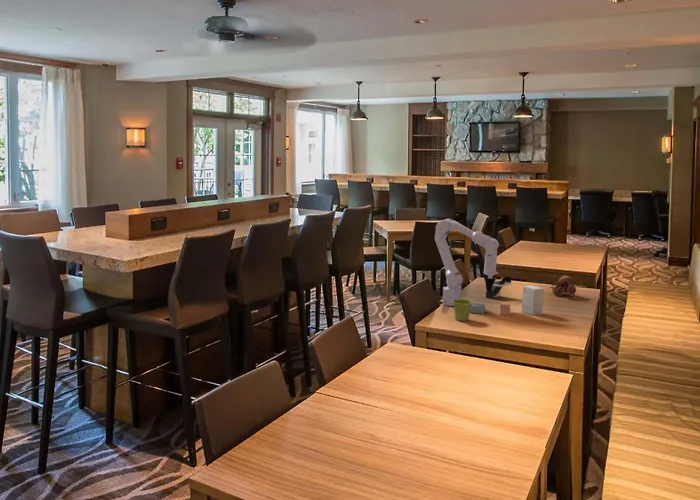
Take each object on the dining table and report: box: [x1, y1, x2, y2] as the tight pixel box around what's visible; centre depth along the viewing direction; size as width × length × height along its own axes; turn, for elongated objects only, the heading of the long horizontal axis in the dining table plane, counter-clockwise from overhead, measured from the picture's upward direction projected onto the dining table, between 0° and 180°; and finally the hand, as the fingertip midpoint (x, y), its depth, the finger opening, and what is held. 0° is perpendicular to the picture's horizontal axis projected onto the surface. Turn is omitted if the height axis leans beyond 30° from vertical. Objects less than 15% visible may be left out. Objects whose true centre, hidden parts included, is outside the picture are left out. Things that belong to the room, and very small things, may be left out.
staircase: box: [485, 275, 512, 299], centre depth 332 cm, size 9×10×12 cm
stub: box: [499, 301, 511, 316], centre depth 299 cm, size 4×5×5 cm
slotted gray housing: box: [470, 303, 486, 314], centre depth 301 cm, size 8×5×4 cm, turn 80°
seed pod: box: [547, 275, 577, 297], centre depth 343 cm, size 13×16×15 cm
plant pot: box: [452, 298, 473, 322], centre depth 286 cm, size 9×9×9 cm
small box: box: [521, 285, 545, 316], centre depth 301 cm, size 8×6×13 cm
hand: (488, 290), depth 306 cm, fingers open, 7 cm apart
